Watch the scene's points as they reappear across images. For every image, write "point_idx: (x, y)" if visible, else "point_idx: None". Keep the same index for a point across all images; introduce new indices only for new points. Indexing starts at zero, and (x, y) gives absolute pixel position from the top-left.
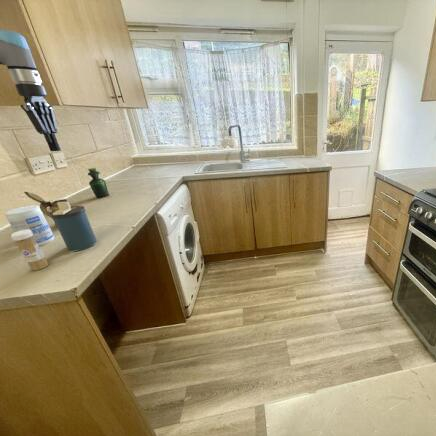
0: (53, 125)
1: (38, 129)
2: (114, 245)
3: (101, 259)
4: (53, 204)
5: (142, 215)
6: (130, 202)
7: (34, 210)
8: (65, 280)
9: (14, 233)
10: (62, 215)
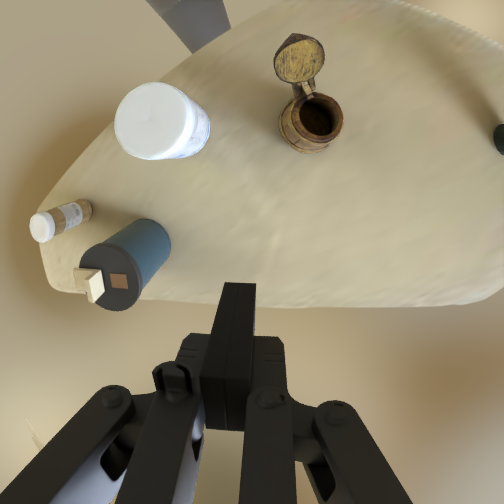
0: (321, 494)
1: (101, 420)
2: (150, 299)
3: None
4: (293, 113)
5: (317, 304)
6: (442, 234)
7: (143, 158)
8: (59, 269)
9: (34, 220)
10: None
